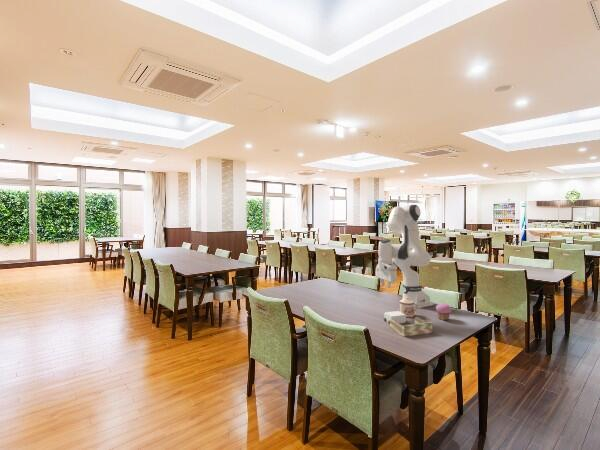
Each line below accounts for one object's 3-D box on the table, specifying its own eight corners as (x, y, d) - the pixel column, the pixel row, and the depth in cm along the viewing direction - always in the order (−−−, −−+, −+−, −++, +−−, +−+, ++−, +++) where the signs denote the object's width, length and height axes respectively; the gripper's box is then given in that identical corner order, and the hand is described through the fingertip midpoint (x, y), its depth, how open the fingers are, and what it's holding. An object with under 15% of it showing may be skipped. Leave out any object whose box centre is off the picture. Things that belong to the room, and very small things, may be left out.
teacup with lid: (404, 318, 198) (404, 299, 198) (396, 313, 207) (396, 296, 207) (421, 316, 201) (421, 298, 200) (413, 312, 210) (413, 294, 209)
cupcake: (445, 316, 200) (445, 301, 199) (454, 321, 191) (454, 304, 191) (433, 317, 198) (432, 301, 198) (441, 322, 190) (441, 305, 189)
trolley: (398, 318, 199) (398, 310, 199) (406, 322, 190) (406, 314, 190) (382, 320, 196) (382, 312, 196) (390, 324, 187) (390, 316, 187)
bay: (416, 324, 186) (416, 314, 186) (432, 332, 173) (432, 322, 173) (390, 327, 182) (389, 318, 181) (403, 336, 169) (403, 326, 168)
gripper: (372, 263, 211) (373, 283, 211) (389, 267, 191) (389, 290, 192) (381, 262, 213) (381, 282, 213) (398, 267, 193) (398, 289, 193)
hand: (385, 286), depth 202 cm, fingers open, 5 cm apart
